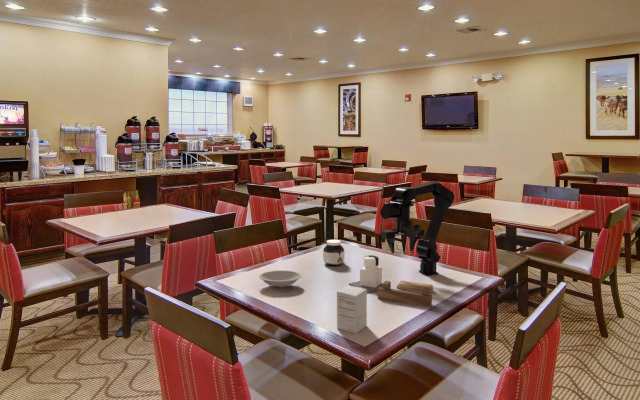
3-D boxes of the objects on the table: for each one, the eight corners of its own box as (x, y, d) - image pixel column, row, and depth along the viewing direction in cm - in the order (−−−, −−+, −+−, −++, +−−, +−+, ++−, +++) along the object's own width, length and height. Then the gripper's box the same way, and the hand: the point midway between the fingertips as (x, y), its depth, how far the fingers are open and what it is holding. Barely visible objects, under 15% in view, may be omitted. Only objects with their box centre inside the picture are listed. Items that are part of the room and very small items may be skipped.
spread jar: (329, 267, 205) (329, 244, 203) (317, 262, 215) (317, 239, 213) (349, 264, 211) (350, 241, 209) (337, 258, 221) (337, 236, 219)
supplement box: (347, 320, 145) (348, 284, 143) (367, 326, 141) (367, 288, 139) (336, 328, 139) (336, 291, 137) (356, 334, 135) (356, 295, 133)
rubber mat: (371, 279, 187) (371, 278, 187) (389, 287, 177) (389, 286, 177) (348, 284, 181) (348, 283, 181) (366, 293, 171) (366, 291, 171)
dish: (303, 281, 185) (303, 270, 184) (299, 293, 171) (299, 281, 170) (262, 281, 186) (262, 270, 185) (256, 292, 172) (255, 280, 171)
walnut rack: (381, 294, 169) (382, 280, 168) (433, 303, 160) (433, 287, 159) (378, 298, 165) (378, 283, 164) (430, 307, 156) (431, 291, 155)
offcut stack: (399, 285, 180) (399, 279, 180) (433, 290, 174) (433, 284, 173) (396, 288, 176) (396, 283, 175) (430, 294, 170) (431, 288, 169)
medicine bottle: (366, 280, 184) (366, 253, 182) (382, 283, 181) (382, 255, 179) (359, 285, 178) (359, 257, 176) (375, 288, 174) (376, 259, 173)
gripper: (393, 221, 173) (393, 259, 175) (432, 218, 180) (431, 254, 182) (380, 217, 183) (379, 252, 186) (417, 214, 190) (416, 248, 192)
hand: (402, 252), depth 186 cm, fingers open, 9 cm apart
